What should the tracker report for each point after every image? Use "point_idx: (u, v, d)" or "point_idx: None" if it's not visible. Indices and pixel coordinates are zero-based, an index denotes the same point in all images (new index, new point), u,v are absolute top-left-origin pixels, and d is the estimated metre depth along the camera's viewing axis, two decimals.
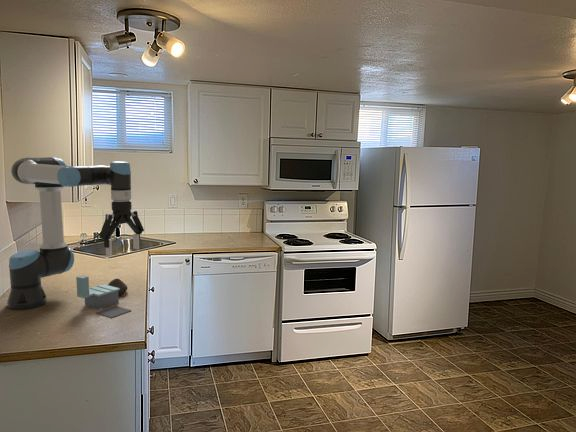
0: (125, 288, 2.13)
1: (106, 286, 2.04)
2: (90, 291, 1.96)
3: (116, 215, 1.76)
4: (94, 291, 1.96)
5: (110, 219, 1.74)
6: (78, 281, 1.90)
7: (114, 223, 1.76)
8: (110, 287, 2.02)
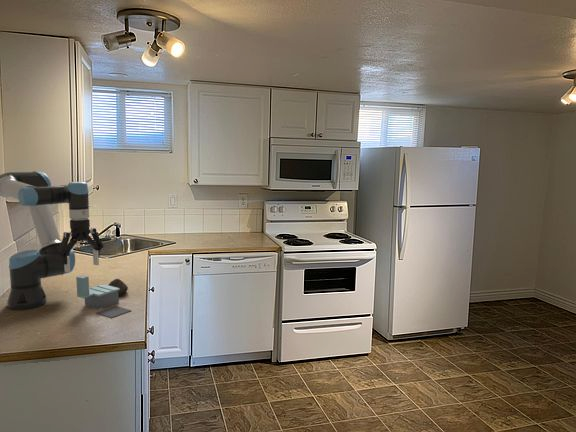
0: (125, 288, 2.13)
1: (106, 286, 2.04)
2: (90, 291, 1.96)
3: (74, 233, 1.84)
4: (94, 291, 1.96)
5: (68, 237, 1.82)
6: (78, 281, 1.90)
7: (72, 241, 1.85)
8: (110, 287, 2.02)
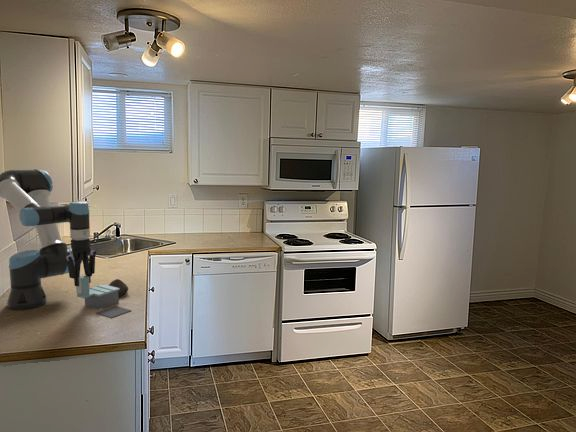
0: (126, 289, 2.12)
1: (106, 286, 2.04)
2: (90, 291, 1.96)
3: (75, 253, 1.86)
4: (94, 291, 1.96)
5: (71, 260, 1.84)
6: None
7: (77, 262, 1.87)
8: (110, 287, 2.02)
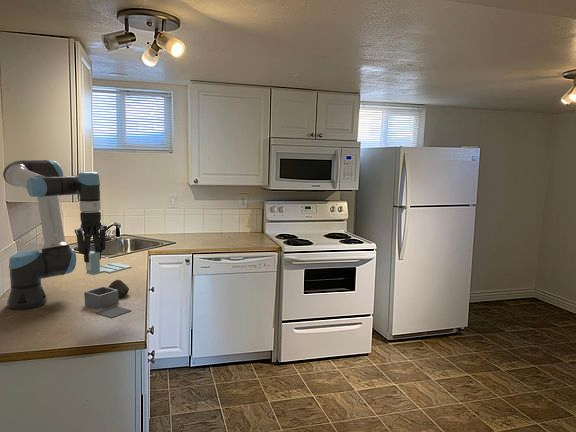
0: (127, 289, 2.12)
1: (117, 264, 1.92)
2: (100, 268, 1.85)
3: (84, 227, 1.74)
4: (104, 268, 1.85)
5: (81, 234, 1.72)
6: None
7: (86, 236, 1.76)
8: (121, 265, 1.91)
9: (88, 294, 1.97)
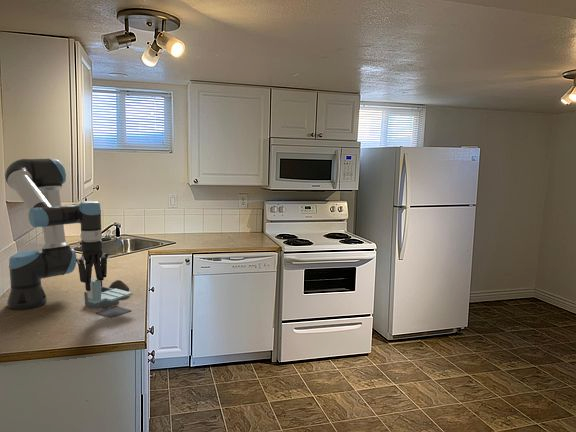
0: (127, 289, 2.11)
1: (118, 290, 1.94)
2: (102, 296, 1.86)
3: (86, 256, 1.75)
4: (106, 296, 1.86)
5: (82, 263, 1.74)
6: None
7: (88, 265, 1.77)
8: (122, 291, 1.92)
9: None
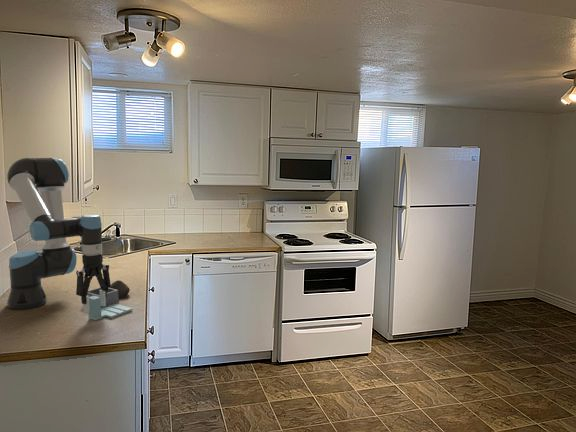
0: (127, 290, 2.11)
1: (118, 306, 1.95)
2: (102, 312, 1.87)
3: (86, 269, 1.76)
4: (106, 312, 1.87)
5: (82, 276, 1.74)
6: (90, 302, 1.81)
7: (87, 278, 1.78)
8: (122, 307, 1.93)
9: (88, 294, 1.97)
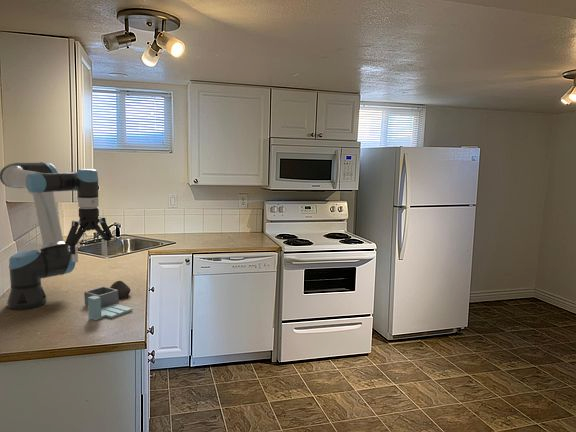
0: (128, 290, 2.10)
1: (118, 306, 1.95)
2: (102, 312, 1.87)
3: (83, 222, 1.78)
4: (106, 312, 1.87)
5: (76, 226, 1.75)
6: (90, 302, 1.81)
7: (81, 230, 1.78)
8: (122, 307, 1.93)
9: (88, 294, 1.97)
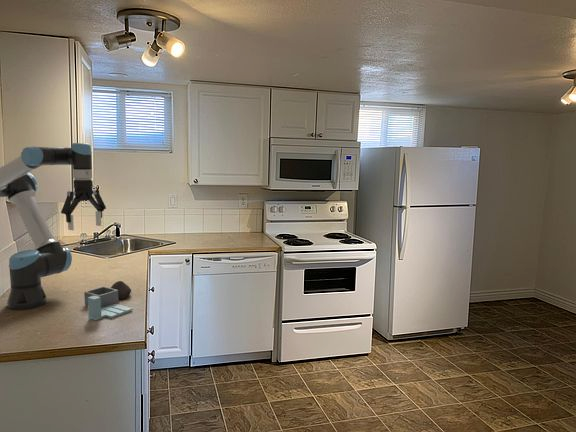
0: (129, 290, 2.10)
1: (118, 306, 1.95)
2: (102, 312, 1.87)
3: (77, 192, 1.90)
4: (106, 312, 1.87)
5: (71, 196, 1.87)
6: (90, 302, 1.81)
7: (76, 200, 1.90)
8: (122, 307, 1.93)
9: (88, 294, 1.97)
